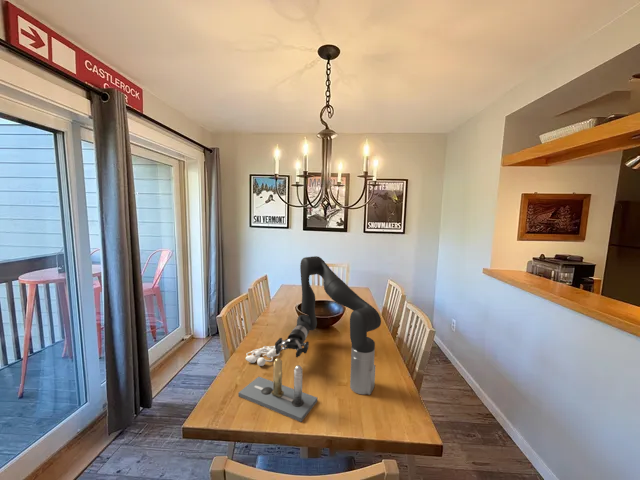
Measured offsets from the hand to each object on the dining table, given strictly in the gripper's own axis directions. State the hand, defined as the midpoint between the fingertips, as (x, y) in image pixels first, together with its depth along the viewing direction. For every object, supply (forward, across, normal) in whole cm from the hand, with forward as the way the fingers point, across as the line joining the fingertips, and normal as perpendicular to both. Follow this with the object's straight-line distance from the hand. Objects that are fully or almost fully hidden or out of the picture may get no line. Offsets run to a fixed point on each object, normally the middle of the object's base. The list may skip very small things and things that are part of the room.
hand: (286, 353), depth 118 cm
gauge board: (+12, +1, +12) cm, 17 cm away
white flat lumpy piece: (-15, -17, +13) cm, 26 cm away
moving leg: (+12, +1, +10) cm, 15 cm away
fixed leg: (+14, +9, +10) cm, 20 cm away
